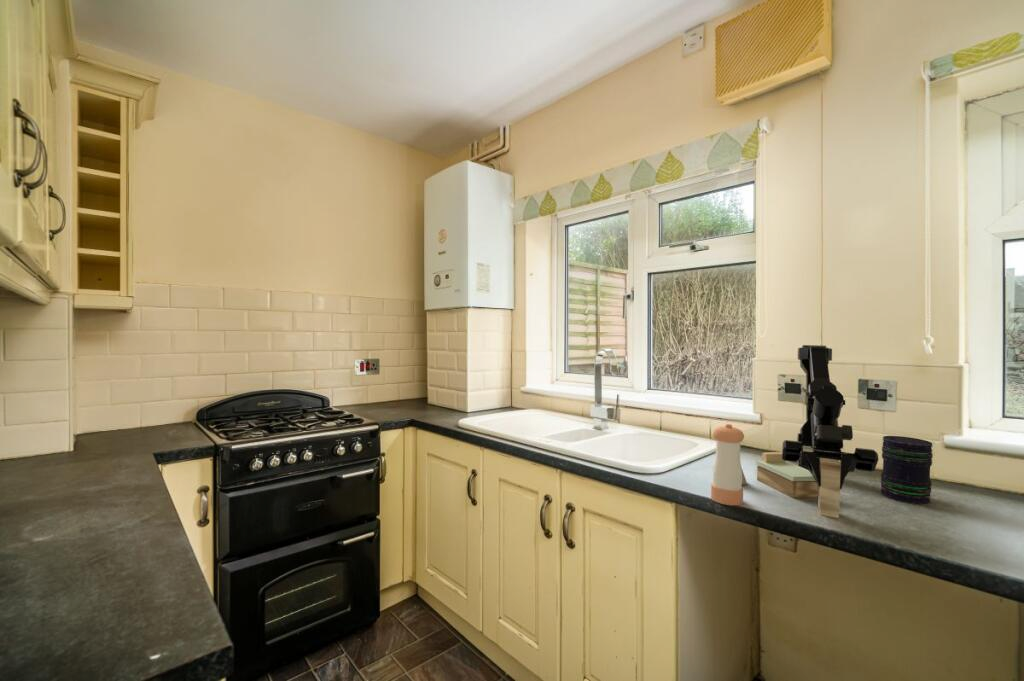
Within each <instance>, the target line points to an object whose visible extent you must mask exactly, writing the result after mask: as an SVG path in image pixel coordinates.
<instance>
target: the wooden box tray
mask: <svg viewBox="0 0 1024 681" xmlns="http://www.w3.org/2000/svg"><path fill="white" fill-rule="evenodd" d="M756 466H757V468H756V480H757V481H758V482H759V483H760V482H761V483H763V484H764V485H766V486H768V487H770V488H772V489H774V490H776V491H777V492H780V493H782V494H783V495H785V496H788V497H790V498H792V499H797V498H798V499H801V498H803V499H805V498H819V486H818V484H817V483H816V481H794V482H793V481H791V480H789V479H786V478H784V477H782V476H780V475H778V474H776V473H773V472H771V471H769V470H767V469H765V468H762V467H760V466H758V465H756Z"/></svg>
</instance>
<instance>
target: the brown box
mask: <svg viewBox="0 0 1024 681" xmlns="http://www.w3.org/2000/svg"><path fill="white" fill-rule="evenodd" d="M819 464H820V467H819V473H820V477H821V486H819V497H818V498H817V500H818V502H817V503H818V506H817V511H818V514H819V515H820V516H825V517H832V518H836V519H838V518H840V496H841V490H840V471H841V462H840V461H839V460H835V459H826V458H820V460H819Z"/></svg>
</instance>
